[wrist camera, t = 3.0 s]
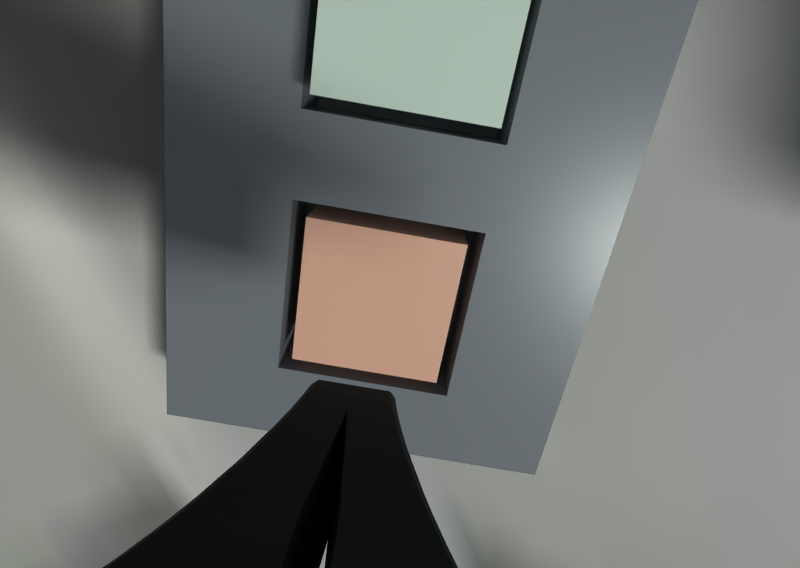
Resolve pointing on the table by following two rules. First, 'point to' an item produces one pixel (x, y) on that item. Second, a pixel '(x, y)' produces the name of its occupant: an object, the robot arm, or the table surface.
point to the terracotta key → (376, 292)
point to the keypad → (401, 211)
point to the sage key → (420, 55)
